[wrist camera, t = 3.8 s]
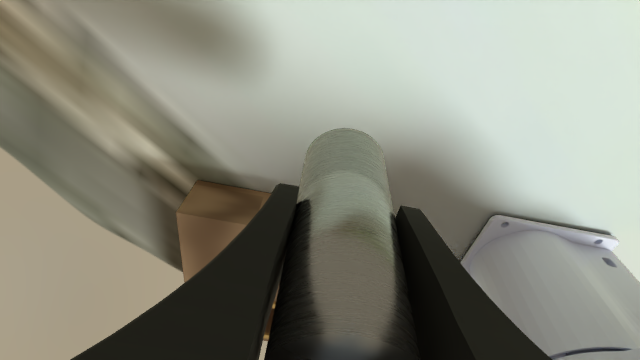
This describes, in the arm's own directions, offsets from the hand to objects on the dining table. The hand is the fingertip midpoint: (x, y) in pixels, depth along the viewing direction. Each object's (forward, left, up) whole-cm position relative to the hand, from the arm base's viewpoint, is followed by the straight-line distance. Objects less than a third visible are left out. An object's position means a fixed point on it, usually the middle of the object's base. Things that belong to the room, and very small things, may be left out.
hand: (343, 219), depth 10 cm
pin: (0, 0, -3) cm, 3 cm away
